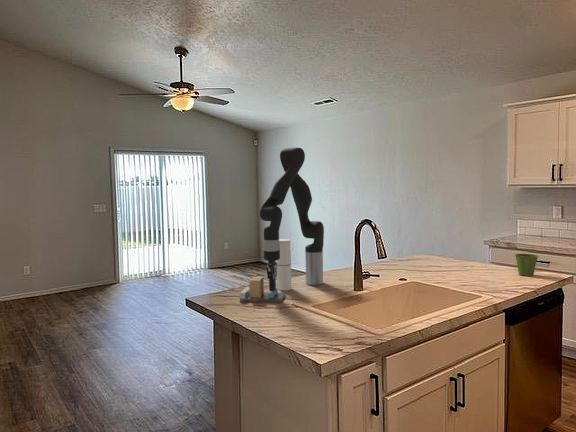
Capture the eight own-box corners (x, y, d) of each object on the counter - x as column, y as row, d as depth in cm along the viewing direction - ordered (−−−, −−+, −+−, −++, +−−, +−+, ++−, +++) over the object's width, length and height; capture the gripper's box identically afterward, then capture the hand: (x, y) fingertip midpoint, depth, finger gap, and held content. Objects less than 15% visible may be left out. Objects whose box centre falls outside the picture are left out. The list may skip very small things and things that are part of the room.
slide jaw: (271, 292, 206) (271, 272, 206) (278, 292, 206) (277, 272, 205) (267, 298, 196) (266, 277, 195) (273, 298, 195) (273, 277, 194)
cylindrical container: (279, 290, 216) (278, 241, 214) (275, 287, 223) (274, 239, 221) (293, 289, 218) (292, 240, 216) (289, 286, 225) (288, 238, 223)
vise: (246, 295, 209) (246, 286, 209) (285, 295, 206) (285, 287, 206) (239, 301, 197) (239, 293, 197) (280, 302, 194) (280, 294, 194)
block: (253, 293, 206) (253, 276, 206) (263, 293, 205) (263, 276, 205) (249, 297, 199) (249, 280, 198) (260, 297, 198) (259, 280, 197)
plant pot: (543, 276, 238) (543, 255, 237) (527, 278, 233) (528, 257, 232) (524, 272, 249) (524, 252, 248) (509, 274, 244) (509, 254, 243)
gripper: (276, 251, 192) (277, 290, 193) (282, 247, 205) (283, 282, 207) (260, 251, 193) (261, 289, 194) (266, 246, 207) (267, 282, 208)
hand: (272, 286), depth 200 cm, fingers closed on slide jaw, 3 cm apart
